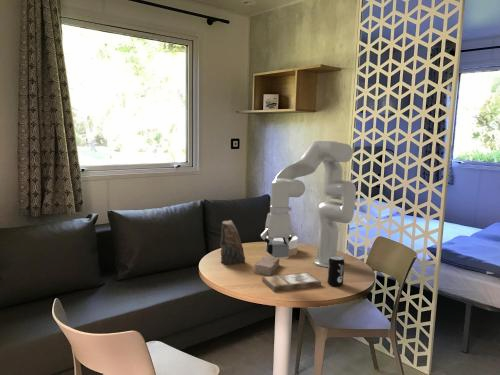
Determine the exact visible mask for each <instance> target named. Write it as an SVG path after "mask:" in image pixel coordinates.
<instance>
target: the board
mask: <svg viewBox="0 0 500 375" xmlns="http://www.w3.org/2000/svg"><path fill="white" fill-rule="evenodd" d="M261 280H262V281H261V282H262V283H263V284H264V285H265V286H267V287H268V288H269V289H270V290H271V291H272V292H273V293H275V292H282V291H291V290H299V289H300V290H301V289H308V288H317V287H321V286H322V281H321V280H320V279H318V278H317V277H315V276H313V275H312V274H310V273H309V272H306V271H305V272H297V273H288V274H287V273H286V274H277V275H266V276H262V278H261Z"/></svg>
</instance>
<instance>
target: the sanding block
mask: <svg viewBox="0 0 500 375" xmlns="http://www.w3.org/2000/svg"><path fill="white" fill-rule="evenodd" d="M265 251H266V252H265V253H266V254H267V255H268V256H271V257H273V258H274V259H280V260H282V259H283V260H284V259H289V257H290V256H289V246H288V245H286V244H284V243H283V242H281V241H272V254H269V253H268V252H267V246H265Z"/></svg>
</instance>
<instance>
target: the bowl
mask: <svg viewBox="0 0 500 375" xmlns="http://www.w3.org/2000/svg"><path fill="white" fill-rule="evenodd" d="M265 237H266V238H267V239H268V236H265ZM273 241H281V242H284V241H283V238H274V239H273ZM265 244H266V246H267V243H266V242H265ZM266 246H265V247H266ZM288 246H289V256H288V257H292V256H295V255H297V254H298V246H299V238H298V236H296V235H295V236H294V237H293V238H292V239H291V240H290V242H289V244H288Z"/></svg>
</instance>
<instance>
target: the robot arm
mask: <svg viewBox="0 0 500 375" xmlns="http://www.w3.org/2000/svg"><path fill="white" fill-rule="evenodd" d="M353 154H354V152H353V148H352V146H351V145H350V144H349V143H343V142H338V141H334V140H333V141H331V140H330V141H329V140H316V141H315V140H314V141H313V142H311V144H310V145H309V146H308V147H307V149H306V150H305V151H304V153H303V154H302V156H301V157H300V159H298V160H297V161H295V162H293V163H290V164H289V165H287V166H285V167H284V168H283V169H281V170H280V171H279V172H278V174H277V175H276V176H275V178H274V180H272V181H271V185H270V201H269V204H270V205H269V212H268V213H267V215H266V220H265V227H264V231H263V232H261V234H260V235H259V236H260V238H261V239H262V240H264V242H265V244H266V243H267V252H268V253H269V254H272V241H273V239H274V238H283V241H284V242H283V243H284V244H286V245H288V244H289V242H290V240H291V239H292V238H293V237H294V236H296V233H295V232H294V231H293V229H292V225H291V224H292V222H291V215H290V213H289V211H292V207H291V206H290V205H289V204H290V198H300V197H302V196H303V195H304V194H305V191H306V186H305V183H304V182H303V181H302V180H299V179H298V178H300V177H306V176H308V175H312V174H314V173H315V172H316V170H317V169H318V167H319V166H320V165H321V163H322V164H323V168H324V179H323V186H322V187H323V189H322V192H323V196H324V197H325V198H328V199H332V200H340V201H342V202H339V201H332V200H324V201H322V202H319V205H318V207H317V215H318V236H317V237H318V239H317V255H316V258H314V259H313V264H315V265H316V266H319V267H325V268H328V265H329V259H330V256H341V257H343V258H344V260H345V259H346V257H345V255H340V254H338V241H339V227H338V224H337V223H342V224H349V223H351V222H352V221H353V218H354V213H355V206H356V196H357V189H356V185H355V183H353V181H350V180H343V171H344V170H343V167H342V165H341V163H348V162H349V161H350V160H352V158H353ZM267 236H268V239H267V238H266V237H267Z"/></svg>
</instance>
